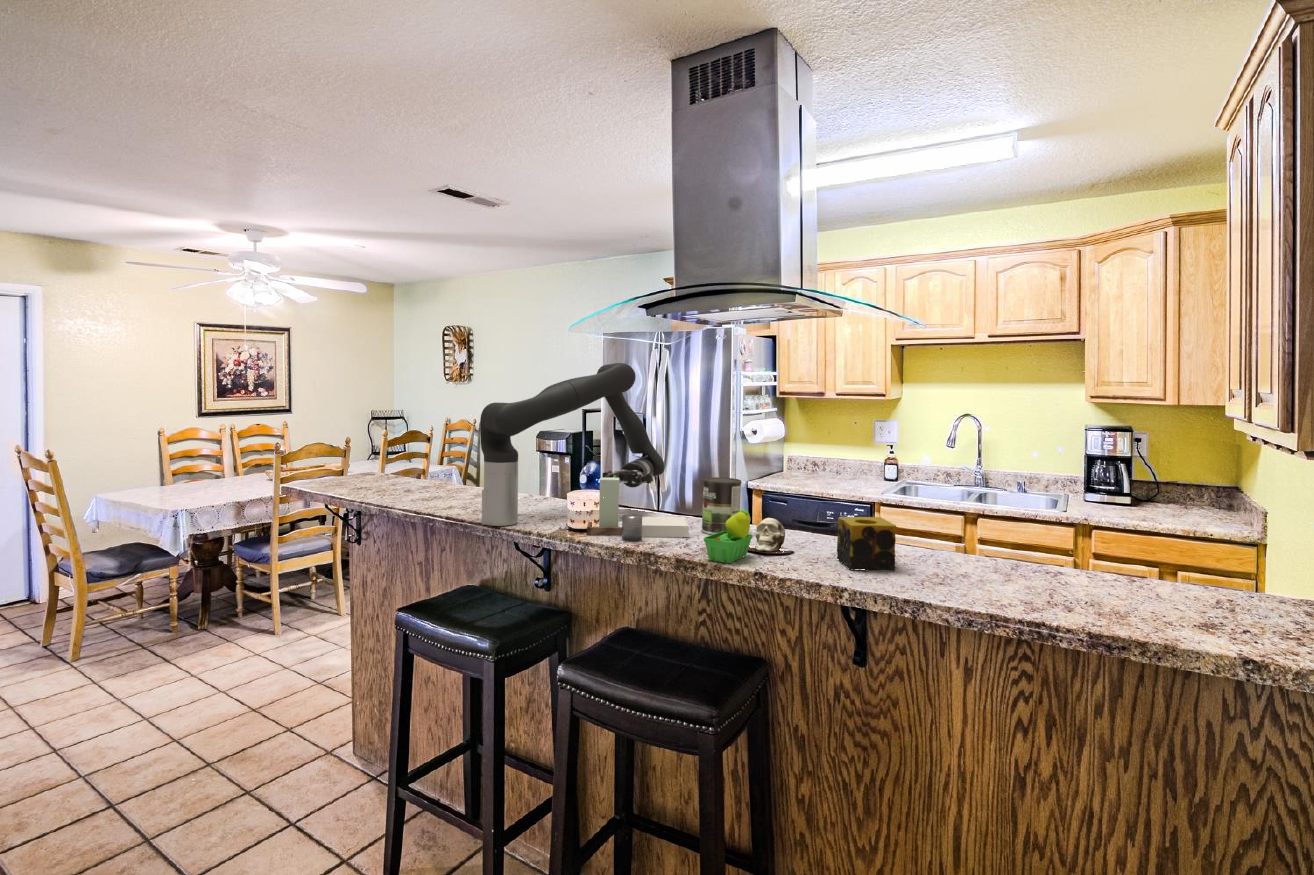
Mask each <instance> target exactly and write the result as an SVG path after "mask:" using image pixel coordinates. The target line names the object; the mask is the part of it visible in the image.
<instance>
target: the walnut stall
mask: <svg viewBox="0 0 1314 875" xmlns="http://www.w3.org/2000/svg"><path fill="white" fill-rule="evenodd" d="M586 536H621V537H622V526H618V527H599V526H593V527H592V522H589V521H588V523H587V526H586Z"/></svg>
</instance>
